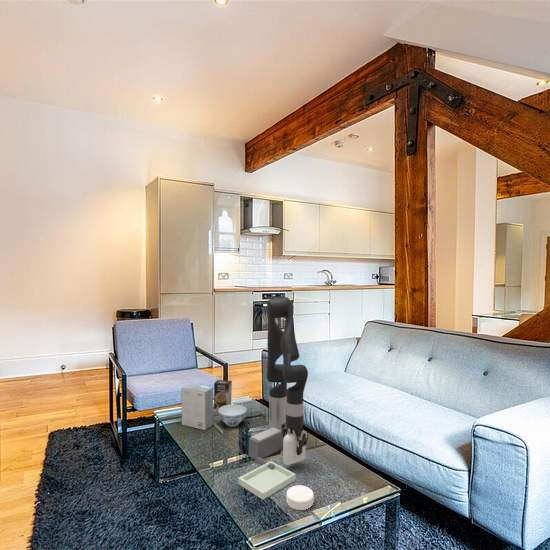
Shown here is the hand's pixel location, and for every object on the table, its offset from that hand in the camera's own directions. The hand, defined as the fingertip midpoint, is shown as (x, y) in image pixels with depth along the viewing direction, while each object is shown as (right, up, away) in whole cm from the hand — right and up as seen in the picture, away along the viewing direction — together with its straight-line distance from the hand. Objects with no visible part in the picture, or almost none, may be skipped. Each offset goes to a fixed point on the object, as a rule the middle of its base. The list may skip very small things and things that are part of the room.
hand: (294, 452), depth 161 cm
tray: (-11, -7, -11) cm, 17 cm away
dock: (-9, -6, +9) cm, 14 cm away
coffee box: (-39, -4, +62) cm, 74 cm away
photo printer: (0, -4, 0) cm, 4 cm away
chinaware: (-31, -5, +42) cm, 52 cm away
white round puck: (+1, -8, -23) cm, 24 cm away
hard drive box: (-49, -5, +40) cm, 64 cm away
